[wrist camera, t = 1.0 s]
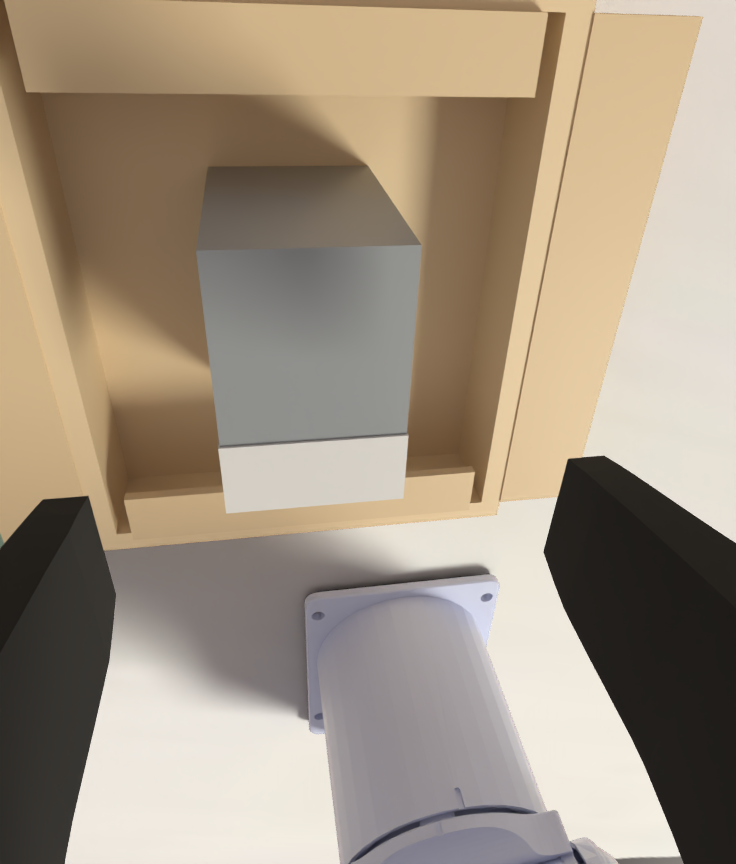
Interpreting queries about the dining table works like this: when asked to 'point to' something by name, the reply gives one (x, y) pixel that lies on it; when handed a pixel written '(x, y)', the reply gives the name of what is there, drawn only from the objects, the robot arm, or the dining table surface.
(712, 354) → the dining table surface
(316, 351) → the grey box
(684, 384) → the dining table surface
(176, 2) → the tan wooden shallow tray
